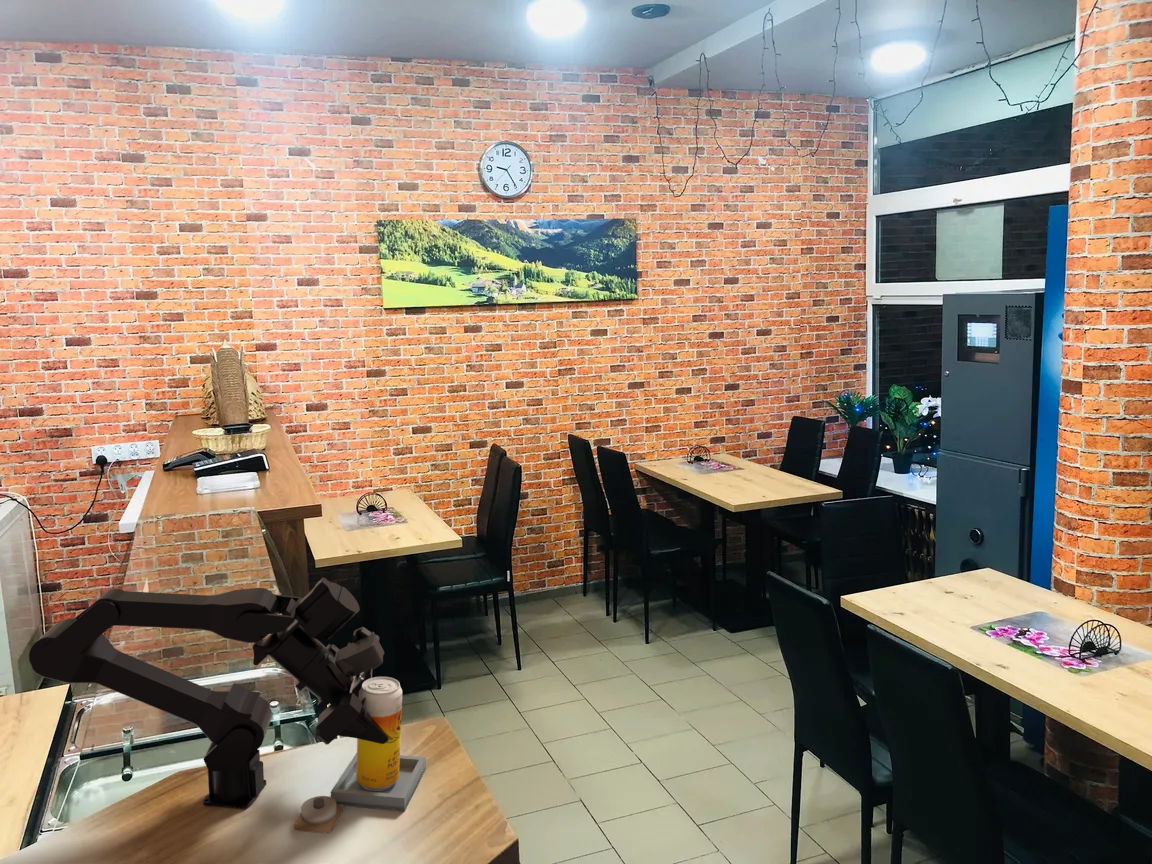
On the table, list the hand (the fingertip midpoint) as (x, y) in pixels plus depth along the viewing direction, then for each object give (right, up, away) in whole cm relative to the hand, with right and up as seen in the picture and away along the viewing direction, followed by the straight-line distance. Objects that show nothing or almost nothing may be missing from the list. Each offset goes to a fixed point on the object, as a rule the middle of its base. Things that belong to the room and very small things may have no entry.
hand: (388, 730), depth 127 cm
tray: (-1, -9, +1) cm, 9 cm away
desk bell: (-8, -10, -7) cm, 14 cm away
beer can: (-2, -8, +1) cm, 8 cm away
